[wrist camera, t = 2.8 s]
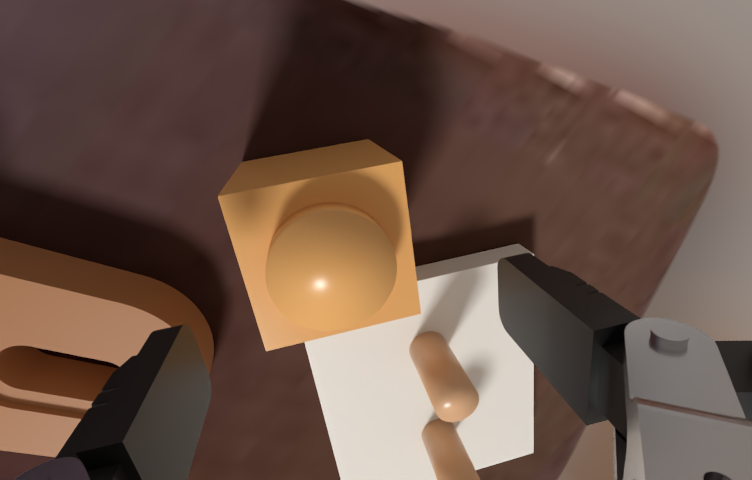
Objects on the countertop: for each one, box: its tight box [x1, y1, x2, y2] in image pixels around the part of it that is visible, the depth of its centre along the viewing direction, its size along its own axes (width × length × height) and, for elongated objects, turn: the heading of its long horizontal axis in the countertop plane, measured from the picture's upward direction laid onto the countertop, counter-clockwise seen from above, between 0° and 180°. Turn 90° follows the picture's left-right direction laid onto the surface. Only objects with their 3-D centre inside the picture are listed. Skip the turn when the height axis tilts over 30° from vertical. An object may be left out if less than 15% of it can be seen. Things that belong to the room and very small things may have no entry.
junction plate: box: [305, 244, 534, 480], centre depth 21 cm, size 12×14×6 cm
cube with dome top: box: [218, 139, 421, 351], centre depth 15 cm, size 6×6×7 cm
